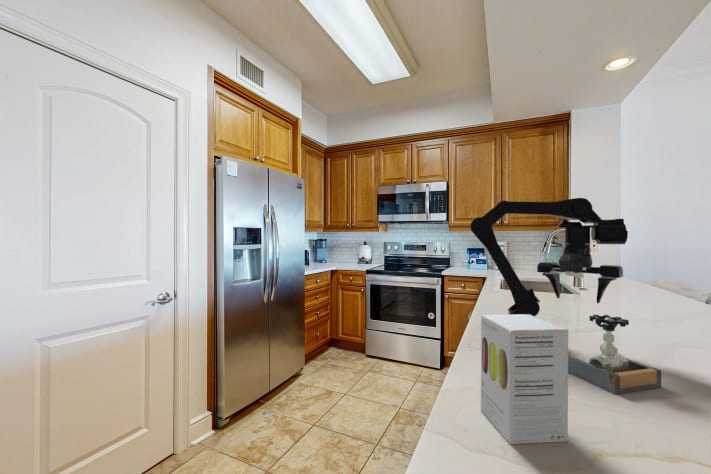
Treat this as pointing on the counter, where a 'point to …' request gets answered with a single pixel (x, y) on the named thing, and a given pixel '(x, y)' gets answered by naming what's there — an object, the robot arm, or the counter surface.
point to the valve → (609, 345)
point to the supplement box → (525, 378)
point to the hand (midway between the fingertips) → (577, 300)
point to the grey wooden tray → (617, 376)
